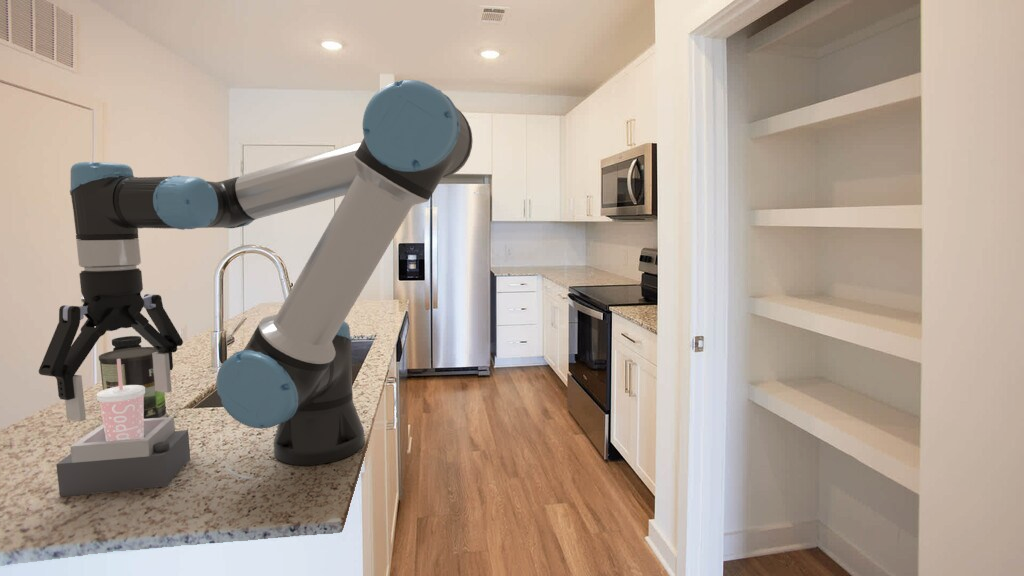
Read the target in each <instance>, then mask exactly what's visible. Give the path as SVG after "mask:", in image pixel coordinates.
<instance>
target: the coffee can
mask: <svg viewBox="0 0 1024 576" xmlns="http://www.w3.org/2000/svg"><path fill="white" fill-rule="evenodd" d="M155 352H159V351H158V350H156V349H155V348H154V347H153V346H141V347H136V348H127V349H120V350H115V351H113V350H111V351H107V352H104V353H102V354H99V355H98V361H99V365H100V366H99V367H100V376H101V377H100V378H101V386H102V390H105V389H109V388H113V387H118V386H119V381H118V369H117V359H121V371H122V383H123V386H126V385H142V386H144V387H145V394H144V419H150V418H164V417H168V414H167V408H166V407H167V406H166V396H165V394H166V392H158V391H155V380H154V368H153V357H152V353H155Z"/></svg>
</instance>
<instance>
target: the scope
mask: <svg viewBox="0 0 1024 576" xmlns="http://www.w3.org/2000/svg"><path fill="white" fill-rule="evenodd" d="M141 343H142V336H141V335H140V336H138V335H130V336H121V337H115V338H112V339H111V345H112V346H113V349H112V351H115V350H120V349H127V348H136V347H142V345H141Z"/></svg>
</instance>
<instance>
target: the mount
mask: <svg viewBox="0 0 1024 576" xmlns="http://www.w3.org/2000/svg"><path fill="white" fill-rule="evenodd" d="M189 436H190V435H189V429H186V430H185V429H183V430H176V427H175V417H174V416H169V417H168V416H166V417H164V418H150V419H144V438H141V439H128V440H115V441H106V437H105V431H104V425H103V423H102V424H100V425H99V426H98V427H96V428H95V429H93V430H92V431H91V432H89V433H87V434H86V435H84V436H83V437H82V438H81V439H79V440H77V441H76V442H75V443H73V444H72V445H70V446H69V447H70V454H68V455H66V457H64V458H62V459H61V460H59V462H57V463H56V464H55V465H56V474H57V482H58V483H57V484H58V491H59V492H58V493H59V498H62V497H70V496H71V497H72V496H80V495H82V496H83V495H91V494H102V493H112V492H122V491H123V492H124V491H135V490H144V489H154V488H164V487H168V485H170V483H171V482H172V480H173V479H174V478H175V477H176V476H177V475H178V474H179V472H180V471H181V470H182V469H183V468H184V467H185V465H186V464H187V463H188V461H190V460H191V449H190V448H191V447H190V437H189ZM183 466H184V467H183Z"/></svg>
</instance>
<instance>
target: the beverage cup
mask: <svg viewBox="0 0 1024 576" xmlns="http://www.w3.org/2000/svg"><path fill="white" fill-rule="evenodd" d="M117 369H118V381H119V386H118V387H113V388H109V389H105V390H103V389H102V390H101V391H98V392H97V393H96V395H95V397H96V400H97V401H98V402H99V406H100V408H99V409H100V412H101V413H100V414H101V420H102V424H103V425H104V431H105V437H106V441H115V440H128V439H141V438H144V394H145V387H144V386H142V385H126V386H123V383H122V371H121V359H117Z"/></svg>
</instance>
